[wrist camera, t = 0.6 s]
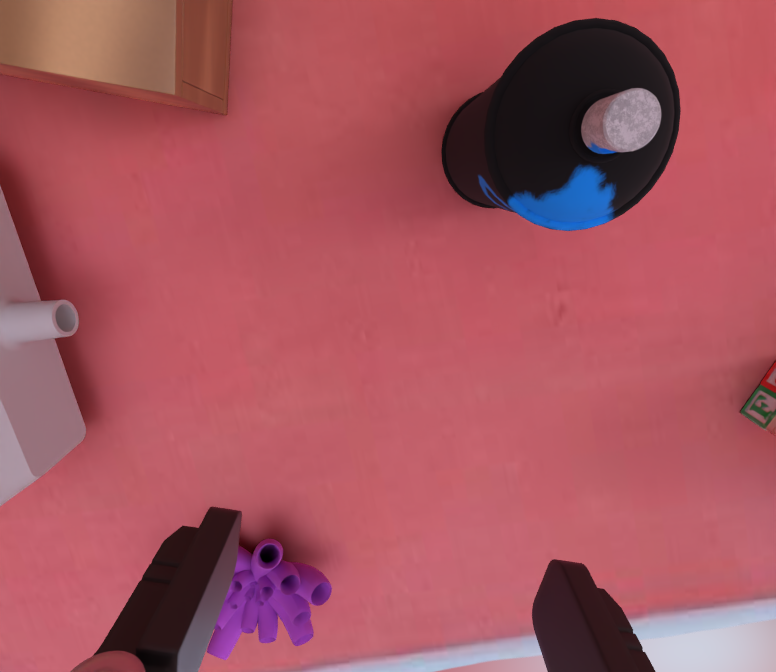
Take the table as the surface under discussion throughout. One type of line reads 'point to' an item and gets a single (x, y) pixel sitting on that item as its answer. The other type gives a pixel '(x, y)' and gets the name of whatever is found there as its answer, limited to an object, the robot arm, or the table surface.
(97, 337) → the table surface
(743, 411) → the stack of blocks
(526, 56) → the aerosol can
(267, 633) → the pipe connector assembly
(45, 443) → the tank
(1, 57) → the cabinet
